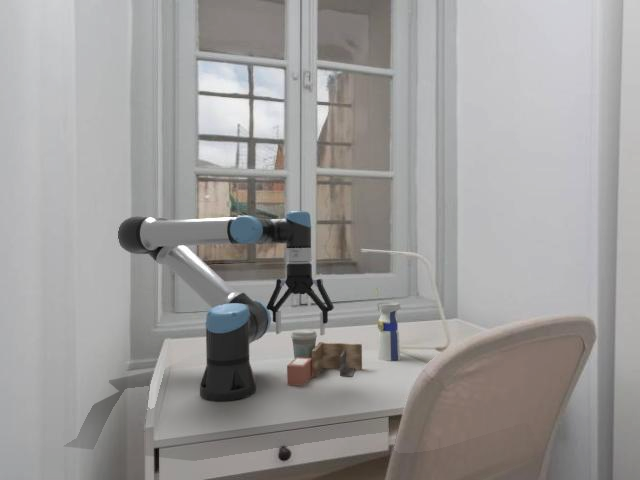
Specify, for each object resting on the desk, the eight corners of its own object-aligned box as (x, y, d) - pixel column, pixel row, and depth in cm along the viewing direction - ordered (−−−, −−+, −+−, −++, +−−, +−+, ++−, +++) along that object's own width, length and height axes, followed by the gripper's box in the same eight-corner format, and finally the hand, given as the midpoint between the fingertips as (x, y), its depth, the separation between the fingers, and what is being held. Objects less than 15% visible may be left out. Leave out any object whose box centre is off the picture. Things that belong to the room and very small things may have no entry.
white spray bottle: (385, 362, 138) (384, 289, 138) (372, 356, 146) (372, 286, 146) (405, 359, 141) (404, 287, 141) (392, 354, 149) (391, 285, 149)
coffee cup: (286, 367, 134) (285, 330, 134) (306, 362, 140) (305, 327, 140) (302, 373, 128) (302, 334, 128) (322, 367, 134) (322, 330, 134)
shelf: (312, 377, 124) (311, 350, 124) (319, 366, 135) (319, 342, 135) (357, 379, 121) (357, 352, 121) (362, 368, 132) (361, 344, 132)
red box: (287, 384, 118) (287, 365, 118) (296, 375, 126) (296, 357, 127) (303, 386, 117) (303, 366, 117) (312, 376, 125) (311, 358, 125)
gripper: (255, 263, 121) (256, 335, 121) (337, 263, 116) (339, 337, 115) (264, 262, 128) (265, 330, 128) (342, 261, 123) (343, 332, 123)
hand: (300, 333), depth 122 cm, fingers open, 13 cm apart
